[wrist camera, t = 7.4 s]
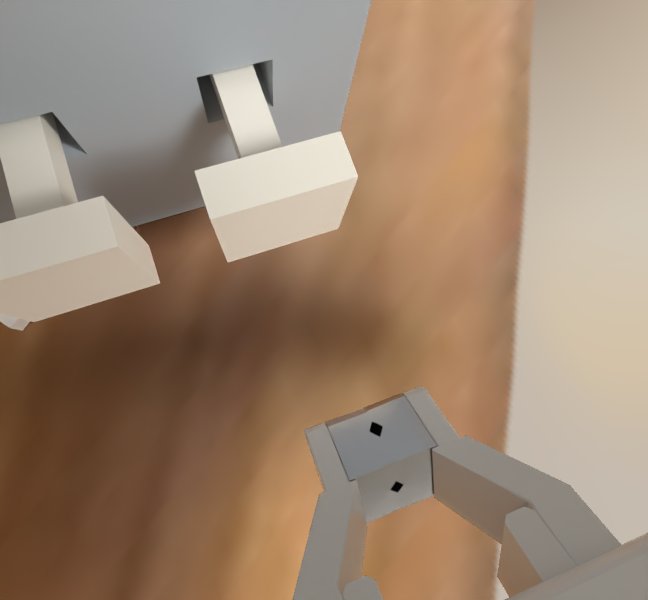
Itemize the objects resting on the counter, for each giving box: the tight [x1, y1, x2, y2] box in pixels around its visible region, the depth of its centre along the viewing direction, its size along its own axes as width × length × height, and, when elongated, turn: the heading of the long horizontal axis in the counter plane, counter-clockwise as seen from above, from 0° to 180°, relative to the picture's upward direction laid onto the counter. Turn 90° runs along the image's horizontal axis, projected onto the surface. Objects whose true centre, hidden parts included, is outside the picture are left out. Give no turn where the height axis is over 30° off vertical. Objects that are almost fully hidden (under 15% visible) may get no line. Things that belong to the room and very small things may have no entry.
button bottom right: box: [194, 64, 358, 262], centre depth 12 cm, size 4×6×4 cm, turn 20°
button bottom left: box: [0, 112, 160, 322], centre depth 11 cm, size 4×6×4 cm, turn 20°
